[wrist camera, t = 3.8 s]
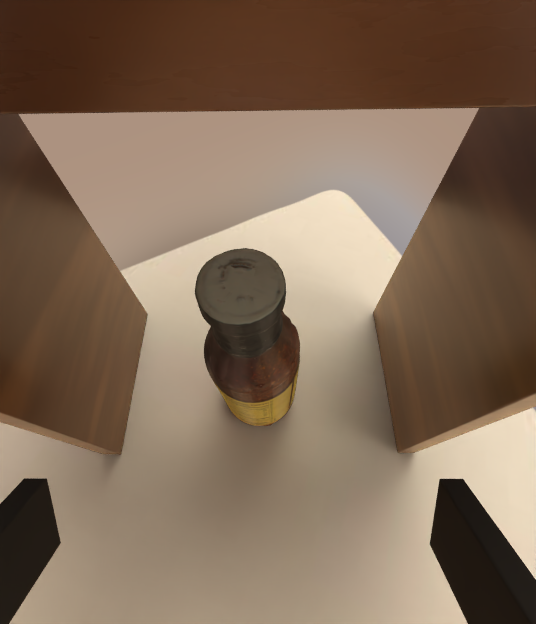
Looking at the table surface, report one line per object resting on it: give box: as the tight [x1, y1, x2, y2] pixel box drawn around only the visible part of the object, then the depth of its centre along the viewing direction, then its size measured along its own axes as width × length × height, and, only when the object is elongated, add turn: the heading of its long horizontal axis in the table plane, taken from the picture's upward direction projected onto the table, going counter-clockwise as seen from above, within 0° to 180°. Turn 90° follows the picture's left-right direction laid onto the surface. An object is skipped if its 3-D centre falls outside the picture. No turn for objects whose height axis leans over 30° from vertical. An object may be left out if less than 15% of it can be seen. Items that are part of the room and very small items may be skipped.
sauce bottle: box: [195, 248, 300, 426], centre depth 24 cm, size 7×6×20 cm
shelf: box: [0, 0, 536, 454], centre depth 20 cm, size 27×14×32 cm, turn 90°
